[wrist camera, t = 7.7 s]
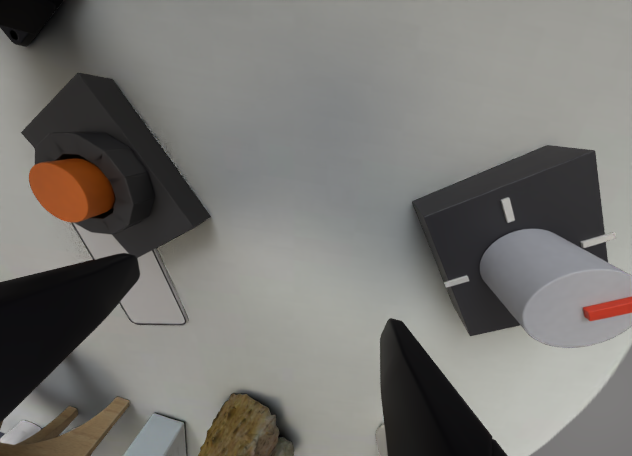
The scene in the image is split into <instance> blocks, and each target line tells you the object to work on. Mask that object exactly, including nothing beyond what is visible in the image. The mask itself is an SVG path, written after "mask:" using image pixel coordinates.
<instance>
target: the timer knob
mask: <svg viewBox="0 0 632 456" xmlns="http://www.w3.org/2000/svg"><path fill="white" fill-rule="evenodd" d="M480 274H481V277H482V279H483V280H484V282H485V283H486V284H487V285H488V287H489V288H490V289H491V290H492V291H493V293H494V294H495V295H496V296H497V297H498V298H499V300H500V301H501V302H502V303H503V304H504V306H505V307H506V308H507V309H508V310H509V312H510V313H511V314H512V315H513V316H514V318H515V319H516V320H517V321H518V322H519V324H520V325H521V326H522V327H523V328H524V330H525V331H526V332H527V333H528V334H529V335H530V336H531V337H532V338H534V339H535V340H537V341H539V342H541V343H544V344H546V345H550V346H555V347H563V348H576V347H585V346H590V345H595V344H598V343H601V342H604V341H607V340H610V339H612V338H614V337H616V336H618V335H620V334H621V333H623V332H625V331H626V330H627V329H629V328H630V327H631V326H632V275H630V274H628V273H626V272H624V271H623V270H621V269H619V268H617V267H615V266H613V265H612V264H610V263H608V262H606V261H604V260H602V259H600V258H599V257H597V256H595V255H593V254H591V253H589V252H588V251H586V250H584V249H582V248H580V247H578V246H577V245H575V244H573V243H571V242H569V241H567V240H566V239H564V238H562V237H560V236H558V235H556V234H554V233H552V232H550V231H547V230H543V229H523V230H518V231H515V232H512V233H509V234H507V235H505V236H503V237H501V238H499V239H498V240H496V241H495V242H494V243H493V244H492V245H490V246H489V248H488V249H487V250H486V251H485V253H484V254H483V256H482V259H481V262H480Z"/></svg>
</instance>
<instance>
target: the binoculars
mask: <svg viewBox="0 0 632 456" xmlns="http://www.w3.org/2000/svg"><path fill="white" fill-rule="evenodd" d="M76 428H77V427H75V428H72V429H71V430H70V431H72V430H74V429H76ZM40 430H41V428H40V427H38V426H37V425H35V424H33V423H31V422H28V421H21V422H19V423H18V424H17V425H16V426H15V427H14V428H13V429H11V430H10V431H8V432H7V433H6V434H5V435H4V436H3V437H1V438H0V442H1V443H6V444H13V445H15V444H17V443H20V442H22V441H24V440H26V439H27V438H29V437H31V436H33V435H34V434H36V433H37V432H39V431H40Z"/></svg>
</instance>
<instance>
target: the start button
mask: <svg viewBox="0 0 632 456" xmlns="http://www.w3.org/2000/svg"><path fill="white" fill-rule="evenodd" d="M29 182H30V186H31V189H32V191H33V193H34V195H35V197H36V198H37V200H38V201H39V202H40V204H41V205H42V206H43V207H44V208H45V209H46V210H47V211H48V212H50V213H51V214H52V215H54V216H55V217H57V218H59V219H61V220H64V221H67V222H80V221H83V220H86V219H89V218H91V217H94V216H97V215H100V214H102V213H105V212H108V211H109V210H110V209H111V208H112V207H113V205H114V202H115V194H114V191H113V188H112V185H111V182H110V181H109V180H108V179H107V177H106V176H105V175H104V174H103V173H102V171H101V170H100V169H99V168H98V167H97V166H96V165H94V164H93V163H91V162H89V161H86V160H83V159H79V158H73V159H65V160H57V161H49V162H41V163H38V164H36V165H34V166H33V167H32V168H31V170H30V173H29Z"/></svg>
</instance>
